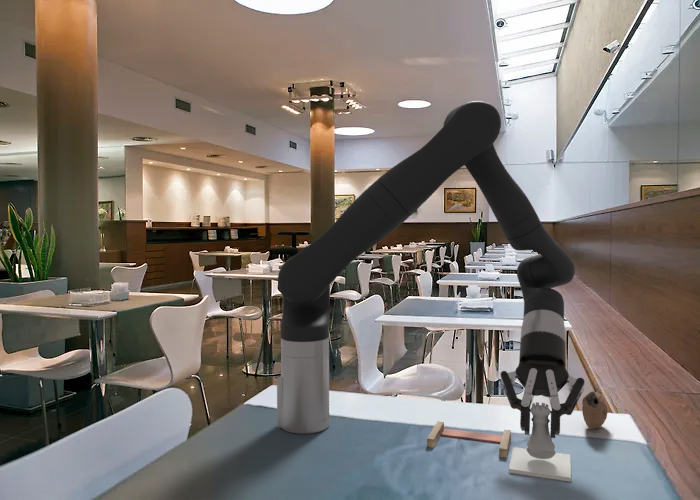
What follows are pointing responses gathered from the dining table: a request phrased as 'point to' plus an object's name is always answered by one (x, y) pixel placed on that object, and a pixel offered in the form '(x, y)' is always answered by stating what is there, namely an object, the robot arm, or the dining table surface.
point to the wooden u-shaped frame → (470, 437)
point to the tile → (540, 465)
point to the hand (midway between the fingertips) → (539, 433)
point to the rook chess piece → (540, 433)
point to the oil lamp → (594, 410)
